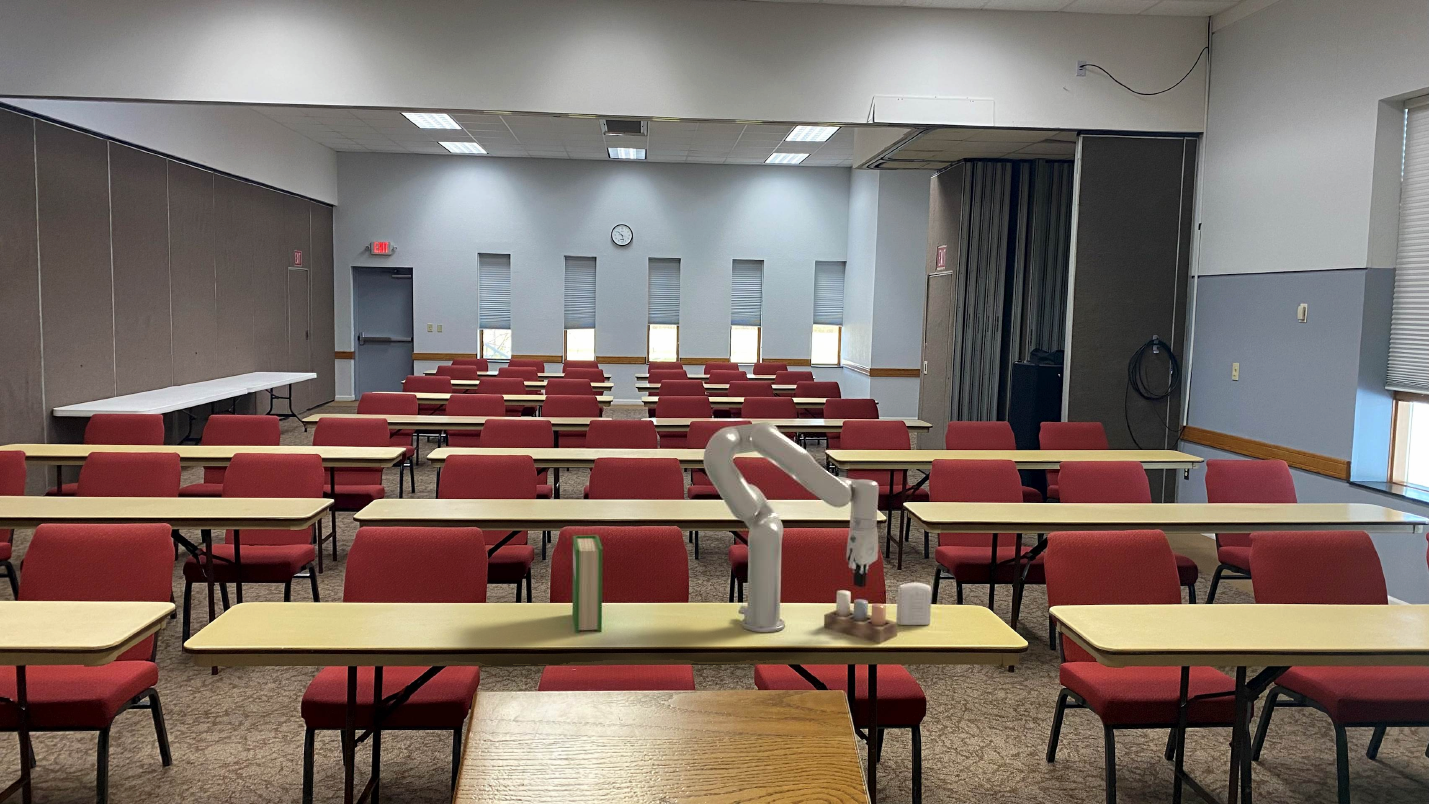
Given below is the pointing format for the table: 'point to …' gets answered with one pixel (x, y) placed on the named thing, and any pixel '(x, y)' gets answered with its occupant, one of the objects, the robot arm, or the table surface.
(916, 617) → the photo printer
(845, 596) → the white peg
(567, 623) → the table surface
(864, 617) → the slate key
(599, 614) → the hardback book
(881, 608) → the salmon orange cylinder
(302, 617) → the table surface
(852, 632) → the wooden peg holder
